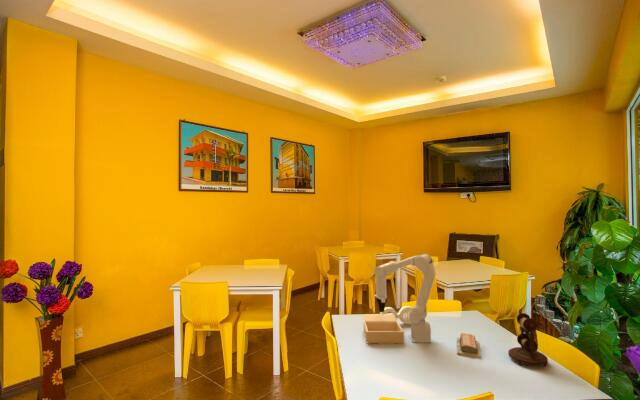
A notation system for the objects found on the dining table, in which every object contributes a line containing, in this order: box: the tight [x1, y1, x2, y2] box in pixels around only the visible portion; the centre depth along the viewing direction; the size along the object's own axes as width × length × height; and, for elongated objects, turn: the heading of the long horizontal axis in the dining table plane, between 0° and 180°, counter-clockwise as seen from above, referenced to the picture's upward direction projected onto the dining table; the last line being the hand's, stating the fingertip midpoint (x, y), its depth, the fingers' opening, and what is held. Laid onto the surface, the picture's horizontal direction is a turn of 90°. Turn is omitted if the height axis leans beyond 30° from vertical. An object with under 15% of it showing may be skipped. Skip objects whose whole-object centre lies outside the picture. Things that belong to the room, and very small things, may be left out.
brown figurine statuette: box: [508, 312, 549, 367], centre depth 146 cm, size 15×15×20 cm
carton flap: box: [363, 313, 397, 322], centre depth 184 cm, size 17×7×1 cm, turn 88°
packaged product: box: [456, 332, 482, 359], centre depth 159 cm, size 18×5×10 cm
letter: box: [379, 305, 414, 325], centre depth 192 cm, size 22×2×10 cm, turn 99°
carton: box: [363, 321, 405, 345], centre depth 173 cm, size 19×14×6 cm
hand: (381, 311), depth 183 cm, fingers closed
